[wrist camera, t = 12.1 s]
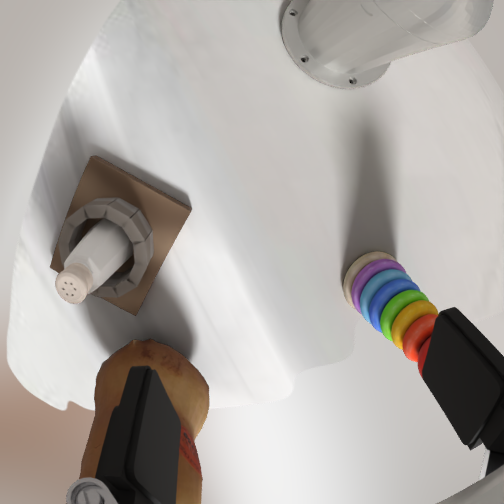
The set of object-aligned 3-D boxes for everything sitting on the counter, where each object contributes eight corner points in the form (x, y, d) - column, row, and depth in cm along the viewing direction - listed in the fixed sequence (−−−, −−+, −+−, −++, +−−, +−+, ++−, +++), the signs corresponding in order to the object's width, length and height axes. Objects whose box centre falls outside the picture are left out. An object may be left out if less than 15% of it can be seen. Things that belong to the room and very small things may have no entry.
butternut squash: (224, 382, 41) (237, 553, 17) (144, 403, 41) (121, 552, 18) (177, 304, 36) (146, 511, 12) (91, 335, 36) (21, 498, 13)
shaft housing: (96, 155, 29) (76, 159, 24) (192, 208, 32) (187, 221, 27) (55, 262, 32) (36, 280, 27) (138, 309, 35) (129, 333, 31)
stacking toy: (336, 308, 38) (403, 418, 21) (346, 248, 35) (439, 343, 18) (388, 304, 39) (467, 397, 21) (401, 249, 36) (502, 328, 19)
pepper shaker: (121, 274, 32) (87, 331, 22) (81, 248, 30) (33, 295, 20) (144, 234, 31) (112, 281, 20) (102, 206, 29) (52, 241, 19)
